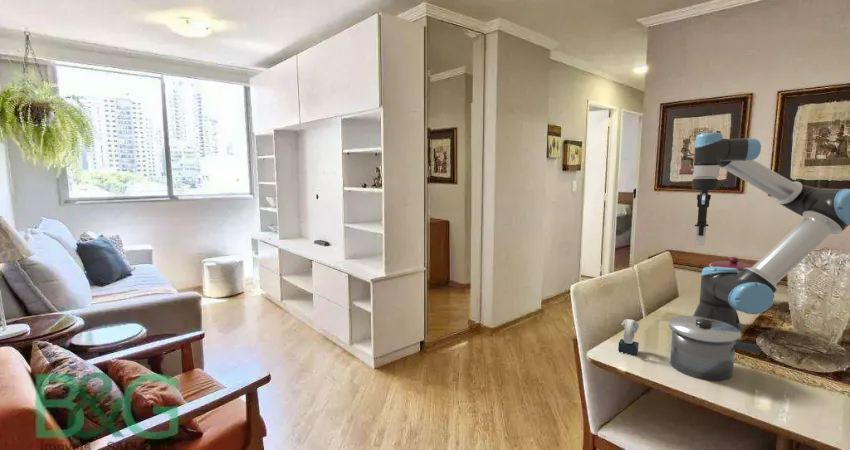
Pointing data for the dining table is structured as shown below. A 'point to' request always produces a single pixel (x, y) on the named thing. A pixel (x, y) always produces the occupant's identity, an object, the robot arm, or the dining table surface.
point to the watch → (629, 338)
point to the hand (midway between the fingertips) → (700, 244)
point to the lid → (704, 329)
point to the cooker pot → (705, 357)
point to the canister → (731, 264)
